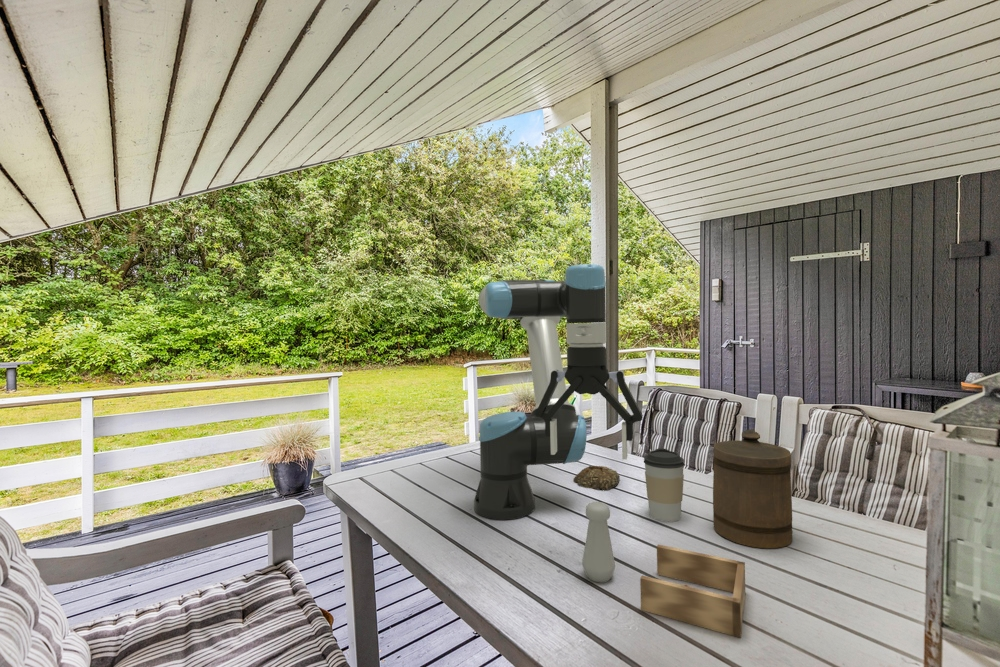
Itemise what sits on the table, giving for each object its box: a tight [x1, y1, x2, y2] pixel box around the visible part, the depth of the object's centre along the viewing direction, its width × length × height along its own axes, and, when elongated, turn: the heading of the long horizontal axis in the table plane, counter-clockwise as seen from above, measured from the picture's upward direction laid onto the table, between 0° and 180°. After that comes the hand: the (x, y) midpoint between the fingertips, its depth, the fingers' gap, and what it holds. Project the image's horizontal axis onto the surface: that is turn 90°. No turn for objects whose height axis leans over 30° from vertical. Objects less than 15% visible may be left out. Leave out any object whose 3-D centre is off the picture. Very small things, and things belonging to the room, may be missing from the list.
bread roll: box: [573, 465, 621, 491], centre depth 134 cm, size 13×12×5 cm
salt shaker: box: [581, 501, 616, 583], centre depth 84 cm, size 6×6×13 cm
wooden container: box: [712, 429, 793, 549], centre depth 99 cm, size 15×15×22 cm
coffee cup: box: [643, 448, 685, 523], centre depth 110 cm, size 9×9×15 cm
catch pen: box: [639, 544, 746, 638], centre depth 76 cm, size 14×13×5 cm
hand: (588, 455), depth 90 cm, fingers open, 13 cm apart
